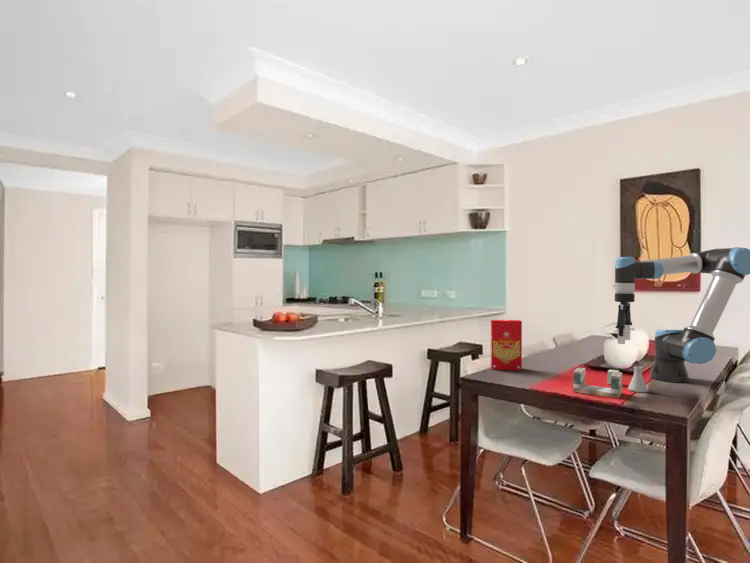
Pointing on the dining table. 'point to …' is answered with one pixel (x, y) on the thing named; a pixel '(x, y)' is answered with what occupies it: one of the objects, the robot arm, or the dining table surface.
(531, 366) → the dining table surface
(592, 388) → the grey u-shaped holder
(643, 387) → the flask
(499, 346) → the food packaging
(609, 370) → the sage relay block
